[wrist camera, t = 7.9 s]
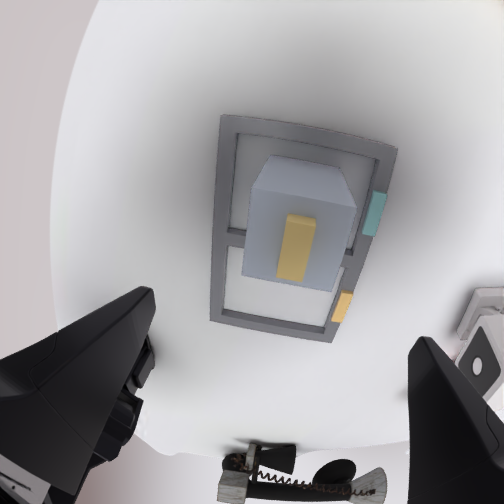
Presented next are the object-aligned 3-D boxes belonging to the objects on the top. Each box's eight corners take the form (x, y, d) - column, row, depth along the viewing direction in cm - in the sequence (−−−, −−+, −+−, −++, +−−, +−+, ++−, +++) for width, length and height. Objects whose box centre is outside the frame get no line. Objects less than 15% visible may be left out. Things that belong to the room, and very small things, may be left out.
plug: (261, 217, 20) (238, 285, 13) (270, 154, 18) (247, 194, 11) (325, 229, 20) (332, 302, 13) (339, 167, 17) (360, 215, 11)
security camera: (464, 284, 20) (510, 373, 11) (514, 283, 18) (560, 357, 10) (442, 335, 23) (468, 421, 14) (491, 331, 22) (522, 404, 13)
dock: (212, 314, 26) (208, 323, 25) (224, 114, 17) (218, 116, 16) (331, 336, 25) (331, 346, 24) (394, 146, 16) (399, 150, 15)
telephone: (379, 428, 44) (226, 421, 47) (401, 456, 32) (211, 450, 35) (361, 486, 41) (220, 479, 45) (376, 518, 29) (206, 513, 32)
